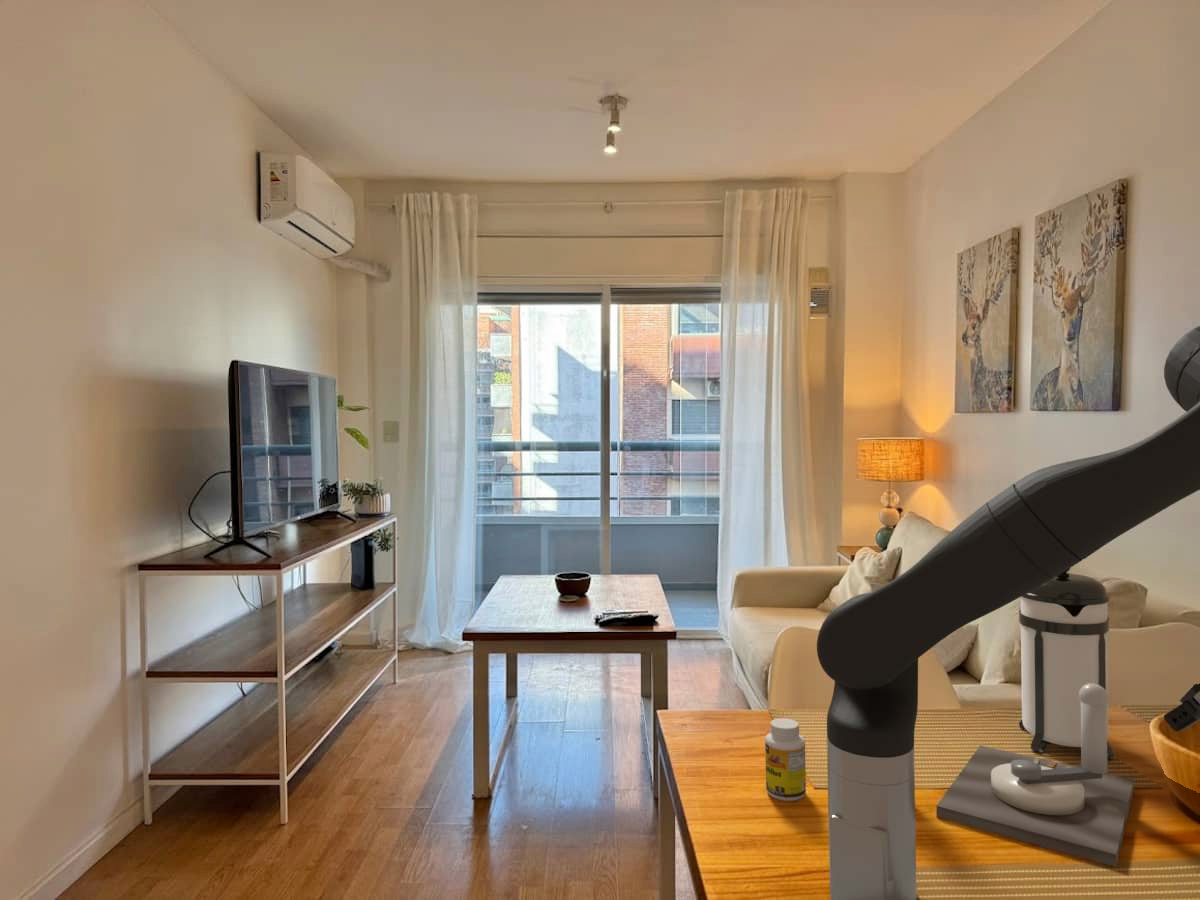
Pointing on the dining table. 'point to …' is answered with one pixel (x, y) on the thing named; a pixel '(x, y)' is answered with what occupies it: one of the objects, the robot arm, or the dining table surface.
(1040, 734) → the coffee press
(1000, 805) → the dial board
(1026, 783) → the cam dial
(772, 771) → the supplement bottle
